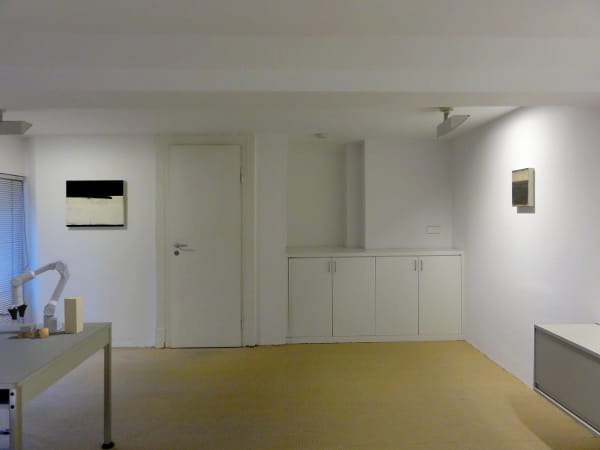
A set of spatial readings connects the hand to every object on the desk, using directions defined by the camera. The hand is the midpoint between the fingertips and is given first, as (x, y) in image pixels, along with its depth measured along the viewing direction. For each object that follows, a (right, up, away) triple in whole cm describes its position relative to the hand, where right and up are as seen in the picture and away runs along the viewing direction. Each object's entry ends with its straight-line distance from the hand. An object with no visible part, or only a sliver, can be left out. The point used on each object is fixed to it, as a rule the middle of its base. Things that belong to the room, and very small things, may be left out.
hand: (18, 318), depth 265 cm
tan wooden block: (+34, -9, +2) cm, 35 cm away
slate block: (+10, -6, -6) cm, 14 cm away
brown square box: (+10, -10, -6) cm, 15 cm away
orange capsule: (+22, -9, -9) cm, 25 cm away
